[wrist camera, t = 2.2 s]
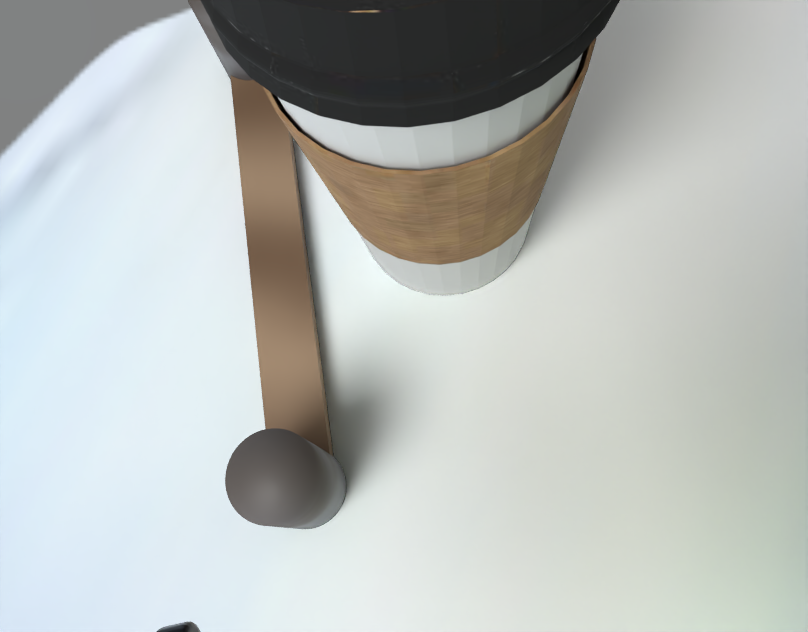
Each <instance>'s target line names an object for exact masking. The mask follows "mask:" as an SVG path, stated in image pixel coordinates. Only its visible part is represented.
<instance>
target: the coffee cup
mask: <svg viewBox="0 0 808 632" xmlns="http://www.w3.org/2000/svg"><path fill="white" fill-rule="evenodd" d="M200 1H201V3H202V4H203V6H204V8H205V10H206V12H207V14H208V16H209V17H210V20H211V22H212V24H213V26H214V28H215V30H216V32H217V34H218V35H219V37H220V39H221V41H222V43H223V45H224V47H225V49H226V51H227V52H228V53H229V54H230V55H231V56H232V57H233V59H234V60H235V61H236V62H237V63H238V64H239V65H240V67H241V68H242V69H243V70H244V71H245V72H246V73H247V75H248V76H249V77H250V78H252V79H253V80H254V81H256V82H257V83H259V84H260V85H261V86H263V88H264V90H265V92H266V94H267V96H268V98H269V100H270V101H271V103H272V105H273V107H274V109H275V111H276V112H277V114H278V115H279V117H280V118H281V120H282V121H283V123H284V124H285V126H286V127H287V129H288V130H289V132H290V133H291V135H292V136H293V138H294V139H295V141H296V142H297V144H298V145H299V147H300V148H301V150H302V151H303V153H304V154H305V155H306V157H307V158H308V160H309V161H310V163H311V164H312V166H313V167H314V169H315V170H316V172H317V173H318V175H319V176H320V178H321V179H322V181H323V182H324V184H325V185H326V187H327V188H328V190H329V191H330V193H331V194H332V196H333V197H334V199H335V200H336V202H337V203H338V204H339V206H340V207H341V209H342V210H343V212H344V213H345V215H346V216H347V218H348V219H349V221H350V222H351V224H352V225H353V226H354V227H355V228H356V229H357V231H358V233H359V234H360V236H361V238H362V240H363V241H364V243H365V245H366V246H367V248H368V250H369V251H370V253H371V255H372V256H373V258H374V260H375V261H376V262H377V263H378V264H379V266H380V267H381V268H382V269H383V270H384V271H385V273H386V274H387V275H389V276H390V277H391V278H393V279H394V280H395V281H397V282H398V283H400V284H402V285H404V286H406V287H408V288H410V289H412V290H415V291H419V292H422V293H426V294H432V295H454V294H462V293H465V292H469V291H472V290H475V289H478V288H480V287H482V286H484V285H486V284H488V283H490V282H492V281H493V280H494V279H496V278H497V277H498V276H499V275H501V274H502V273H503V272H504V271H506V269H507V268H508V267H509V266H510V265H511V263H512V262H513V261H514V260H515V259H516V257H517V255H518V253H519V251H520V249H521V247H522V246H523V243H524V241H525V238H526V235H527V232H528V228H529V225H530V222H531V219H532V215H533V212H534V209H535V206H536V204H537V203H538V201H539V198H540V195H541V193H542V190H543V187H544V185H545V182H546V179H547V177H548V174H549V171H550V169H551V166H552V163H553V161H554V158H555V155H556V152H557V150H558V147H559V144H560V142H561V139H562V136H563V134H564V131H565V128H566V126H567V123H568V120H569V118H570V115H571V112H572V110H573V107H574V104H575V101H576V99H577V96H578V93H579V91H580V88H581V85H582V83H583V80H584V77H585V75H586V72H587V69H588V66H589V62H590V59H591V56H592V52H593V49H594V45H595V42H596V37H597V36H598V35H599V34H600V32H601V31H602V30H603V29H604V28H605V26H606V24H607V22H608V21H609V19H610V17H611V15H612V13H613V12H614V10H615V8H616V6H617V4H618V3H619V1H620V0H200Z"/></svg>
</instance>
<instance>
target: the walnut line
mask: <svg viewBox="0 0 808 632" xmlns="http://www.w3.org/2000/svg"><path fill="white" fill-rule="evenodd" d="M188 2H189V4H190V6H191V8H192V10H193V12H194V13H195V15H196V17H197V19H198V21H199V23H200V24H201V26H202V28H203V30H204V32H205V34H206V35H207V37H208V39H209V41H210V43H211V45H212V46H213V48H214V50H215V52H216V54H217V56H218V57H219V59H220V61H221V63H222V65H223V67H224V68H225V70H226V72H227V74H228V76H229V78H230V79H231V85H232V95H233V105H234V116H235V126H236V136H237V146H238V156H239V166H240V176H241V186H242V196H243V206H244V216H245V226H246V236H247V246H248V256H249V266H250V277H251V287H252V297H253V307H254V317H255V327H256V337H257V347H258V357H259V367H260V377H261V387H262V397H263V407H264V417H265V427H266V429H265V430H261V431H259V432H256V433H254V434H252V435H250V436H249V437H248V438H246V439H245V440H244V441H243V442H242V443H240V445H239V446H238V447H237V448H236V449H235V451H234V452H233V454H232V456H231V458H230V460H229V463H228V466H227V470H226V477H225V484H226V491H227V495H228V498H229V500H230V502H231V504H232V506H233V507H234V509H235V510H236V511H237V512H238V513H239V514H240V515H241V516H242V517H243V518H245V519H246V520H248V521H250V522H252V523H255V524H258V525H263V526H274V527H285V528H297V529H312V528H316V527H319V526H321V525H323V524H325V523H327V522H328V521H329V520H331V519H332V518H333V517H334V516H335V515H336V513H337V512H338V511H339V509H340V508H341V506H342V503H343V501H344V498H345V493H346V479H345V474H344V471H343V469H342V467H341V465H340V464H339V462H338V461H337V460H336V459H335V457H334V456H333V448H332V441H331V433H330V425H329V418H328V410H327V402H326V394H325V387H324V379H323V371H322V364H321V356H320V348H319V340H318V333H317V325H316V317H315V310H314V302H313V294H312V286H311V279H310V271H309V263H308V255H307V248H306V240H305V232H304V225H303V217H302V209H301V201H300V194H299V186H298V178H297V171H296V163H295V155H294V147H293V140H292V135H291V133H290V132H289V130H288V129H287V127H286V126H285V124H284V123H283V121H282V120H281V118H280V117H279V115H278V114H277V112H276V111H275V109H274V107H273V105H272V103H271V101H270V100H269V98H268V96H267V94H266V92H265V90H264V88H263V86H261V85H260V84H259V83H257V82H256V81H254V80H253V79H252V78H250V77H249V76H248V75H247V73H246V72H245V71H244V70H243V69H242V68H241V67H240V65H239V64H238V63H237V62H236V61H235V60H234V59H233V57H232V56H231V55H230V54H229V53H228V52H227V51H226V49H225V47H224V45H223V43H222V41H221V39H220V37H219V35H218V34H217V32H216V30H215V28H214V26H213V24H212V22H211V20H210V17H209V16H208V14H207V12H206V10H205V8H204V6H203V4H202V3H201V1H200V0H188Z"/></svg>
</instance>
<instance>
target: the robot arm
mask: <svg viewBox="0 0 808 632" xmlns="http://www.w3.org/2000/svg"><path fill="white" fill-rule="evenodd" d="M157 632H200V630H199V628H198V627H197V625H195V624H194V623H192V622H184V623H179V624H175V625H171V626H166V627H163V628H161V629H159V630H158V631H157Z"/></svg>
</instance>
